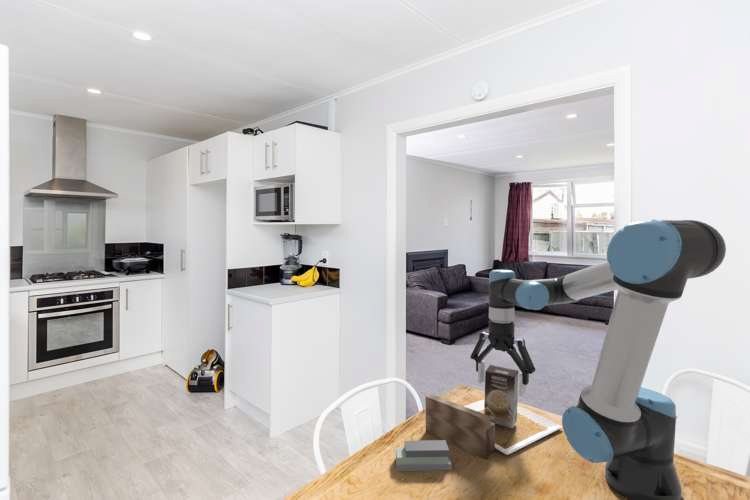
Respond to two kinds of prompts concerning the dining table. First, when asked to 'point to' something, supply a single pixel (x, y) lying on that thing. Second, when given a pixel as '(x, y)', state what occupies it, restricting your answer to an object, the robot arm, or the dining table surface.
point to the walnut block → (460, 426)
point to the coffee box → (501, 395)
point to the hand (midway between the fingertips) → (501, 388)
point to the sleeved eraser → (423, 456)
